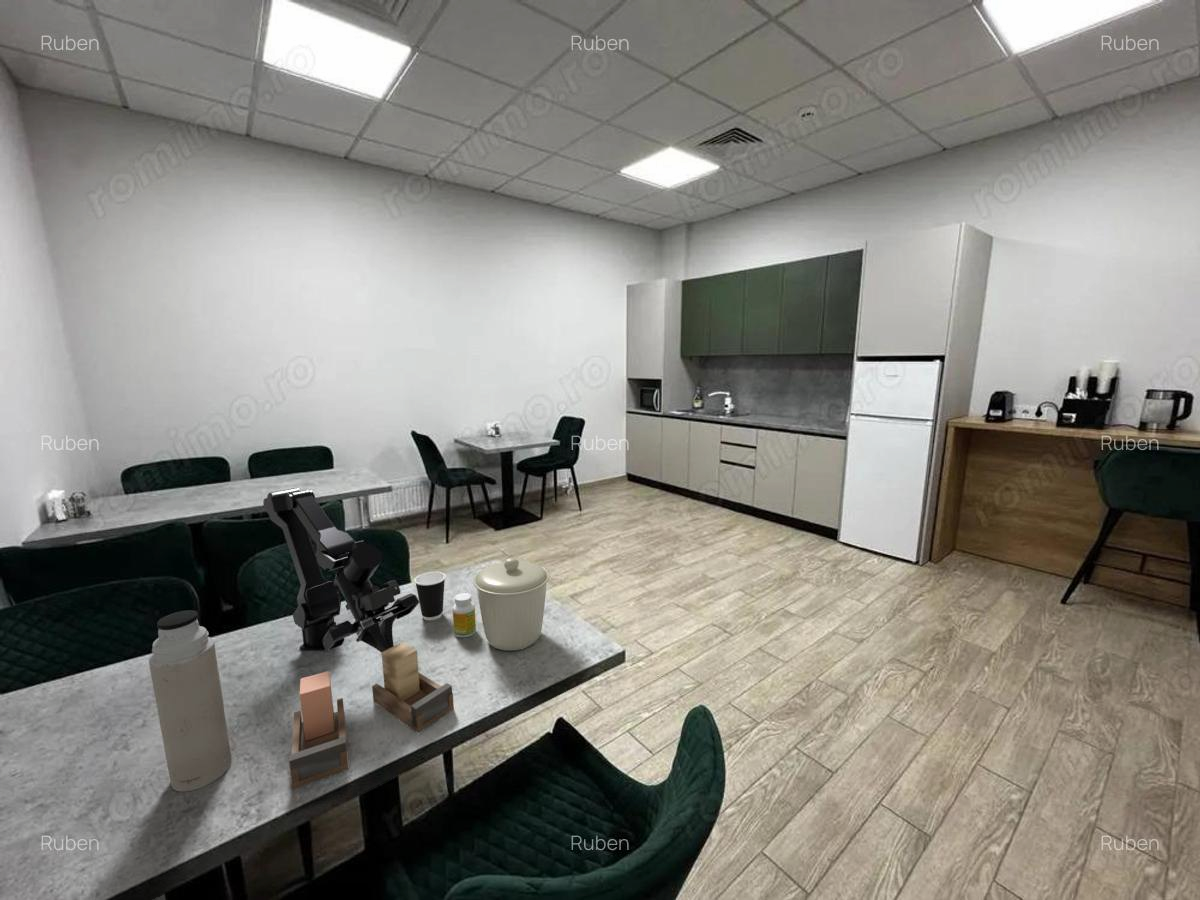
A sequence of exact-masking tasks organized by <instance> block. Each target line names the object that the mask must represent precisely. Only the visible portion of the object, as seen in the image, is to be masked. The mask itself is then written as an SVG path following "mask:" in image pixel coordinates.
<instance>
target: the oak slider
mask: <svg viewBox="0 0 1200 900" xmlns="http://www.w3.org/2000/svg"><path fill="white" fill-rule="evenodd" d="M381 663H382V674H383V675H382V676H383V683H384V684H383V688H385V689H386V690H387V691H389V692H390V693H392V694H393V695H395V696H396V697H398V698H399V699H401V700H402V701H405V700H406V699H408V698H410V697H411V696H413V695H414V694H416V693H418V692H419V691H420V686H419V673H420V672H419V663H418V650H417V649H416V648H414V647H412V646H410V645H409V644H407V643H405V642H404V641H401V642H400V643H397V644H394V646H393V647H391V648H389V649H388V650H386V651H384V652H382V653H381Z"/></svg>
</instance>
